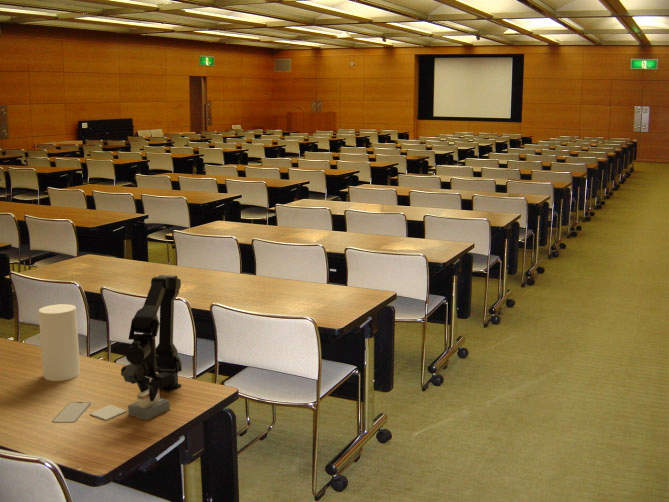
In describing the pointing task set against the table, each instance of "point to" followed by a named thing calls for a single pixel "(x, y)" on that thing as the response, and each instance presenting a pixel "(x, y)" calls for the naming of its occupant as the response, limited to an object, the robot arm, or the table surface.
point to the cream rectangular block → (146, 398)
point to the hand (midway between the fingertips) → (148, 400)
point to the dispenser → (149, 409)
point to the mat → (108, 412)
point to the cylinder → (59, 342)
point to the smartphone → (71, 412)
